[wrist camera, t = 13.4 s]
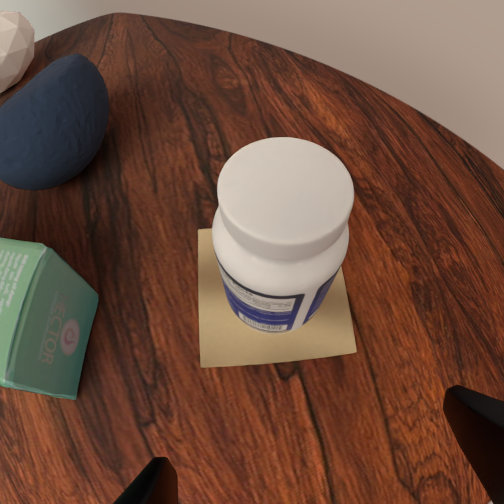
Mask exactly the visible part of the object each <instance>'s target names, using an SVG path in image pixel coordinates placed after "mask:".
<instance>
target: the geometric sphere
mask: <svg viewBox="0 0 504 504" xmlns="http://www.w3.org/2000/svg"><path fill="white" fill-rule="evenodd" d="M33 58H34V29H33V27H32V26H31V24H30V23H29V21H28V20H27V19H26V18H25V17H24V16H23V15H22V14H21V13H20V12H10V11H0V93H2V92H3V91H5V90H7V89H8V88H10V87H11V86H13V85H14V84H16V83H18V82H19V81H20V80H21V78H22V76H23V75H24V73H25V71H26V69H27V68H28V66H29V64H30V63H31V61H32V59H33Z"/></svg>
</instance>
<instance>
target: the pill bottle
mask: <svg viewBox="0 0 504 504" xmlns="http://www.w3.org/2000/svg"><path fill="white" fill-rule="evenodd" d="M217 194H218V201H219V207H218V209H217V211H216V213H215V216H214V220H213V225H212V240H213V246H214V251H215V255H216V258H217V262H218V266H219V270H220V273H221V277H222V281H223V285H224V289H225V293H226V296H227V300H228V303H229V305H230V307H231V309H232V311H233V312H234V314H235V315H236V316H237V318H238V319H239V320H240V321H241V322H243V323H244V324H245V325H247V326H248V327H250V328H251V329H253V330H256V331H259V332H262V333H267V334H283V333H288V332H291V331H294V330H296V329H298V328H300V327H302V326H303V325H305V324H306V323H307V322H308V321H309V320H310V319H311V318H312V317H313V316H314V315H315V313H316V312H317V310H318V309H319V307H320V305H321V303H322V301H323V300H324V298H325V296H326V294H327V292H328V290H329V288H330V286H331V284H332V282H333V280H334V279H335V277H336V275H337V273H338V271H339V269H340V267H341V265H342V263H343V260H344V258H345V256H346V252H347V248H348V242H349V228H348V218H349V215H350V212H351V210H352V206H353V202H354V187H353V182H352V179H351V177H350V174H349V173H348V171H347V169H346V168H345V166H344V165H343V163H342V162H341V161H340V160H339V159H338V158H337V157H336V156H335V155H333V154H332V153H331V152H330V151H328V150H326V149H325V148H323V147H321V146H319V145H317V144H315V143H312V142H309V141H306V140H302V139H297V138H290V137H276V138H268V139H263V140H259V141H256V142H253V143H251V144H249V145H247V146H245V147H243V148H241V149H240V150H238V151H237V152H236V153H235V154H234V155H233V156H232V157H231V158H230V159H229V160H228V161H227V162H226V163H225V165H224V167H223V169H222V171H221V173H220V176H219V179H218V185H217Z"/></svg>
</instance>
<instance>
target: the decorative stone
mask: <svg viewBox="0 0 504 504" xmlns="http://www.w3.org/2000/svg"><path fill="white" fill-rule="evenodd" d="M108 116H109V102H108V92H107V89H106V86H105V83H104V80H103V77H102V76H101V74H100V72H99V71H98V69H97V68H96V66H95V65H94V64H93V63H92V62H90V61H89V60H88V59H87V58H86V57H84V56H83V55H81V54H73V55H70V56H66V57H62V58H60V59H58V60H56V61H54V62H53V63H51V64H50V65H49V66H47V67H46V68H44V69H43V70H42V71H41V72H40V73H38V74H37V75H36V76H34V78H33V79H31V80H30V81H29V82H28V83H27V84H26V85H25V86H24V87H23V88H22V89H20V90H19V91H17V92H16V93H15V94H14V95H13V96H12V97H11V98H10V99H8V100H7V101H6V102H5V103H4V104H3V105H2V106H1V108H0V180H1V181H3V182H4V183H6V184H8V185H11V186H13V187H16V188H19V189H26V190H42V189H48V188H53V187H56V186H58V185H61V184H63V183H65V182H67V181H69V180H70V179H72V178H73V177H75V176H77V175H78V174H80V173H81V172H82V171H83V169H84V168H85V167H86V166H87V165H88V164H89V163H90V162H91V161H92V159H93V158H94V156H95V155H96V153H97V151H98V150H99V148H100V146H101V144H102V141H103V138H104V135H105V132H106V128H107V123H108Z"/></svg>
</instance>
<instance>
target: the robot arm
mask: <svg viewBox="0 0 504 504" xmlns="http://www.w3.org/2000/svg"><path fill="white" fill-rule="evenodd" d="M443 411H444V414H445V416H446V418H447V420H448V422H449V425H450V427H451V429H452V431H453V433H454V435H455V437H456V440H457V442H458V444H459V446H460V448H461V449H462V451H463V453H464V454H465V456H466V458H467V459H468V461H469V463H470V464H471V466H472V468H473V469H474V471H475V473H476V474H477V476H478V478H479V479H480V481H481V483H482V485H483V486H484V488H485V490H486V492H487V493H488V495H489V497H490V499H491V500H492V502H493V504H504V401H501V400H498V399H495V398H492V397H490V396H487V395H484V394H481V393H479V392H476V391H473V390H471V389H468V388H465V387H463V386H460V385H455V386H452V387H450V388H448V389H447V390H446V392H445V398H444V403H443ZM113 504H178V478H177V473H176V471H175V469H174V467H173V466H172V464H171V463H170V461H169V459H168V458H167V457H155V458H153V459H152V460H151V461H150V462H149V463H148V465H147V466H146V467H145V468H144V469H143V470H142V471H141V473H140V474H139V475H138V476H137V477H136V478H135V479H134V481H133V482H132V483H131V484H130V485H129V486H128V487H127V488H126V490H125V491H124V492H123V493H122V494H121V495H120V496H119V497H118V498H117V500H116V501H115V502H114V503H113Z"/></svg>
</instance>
